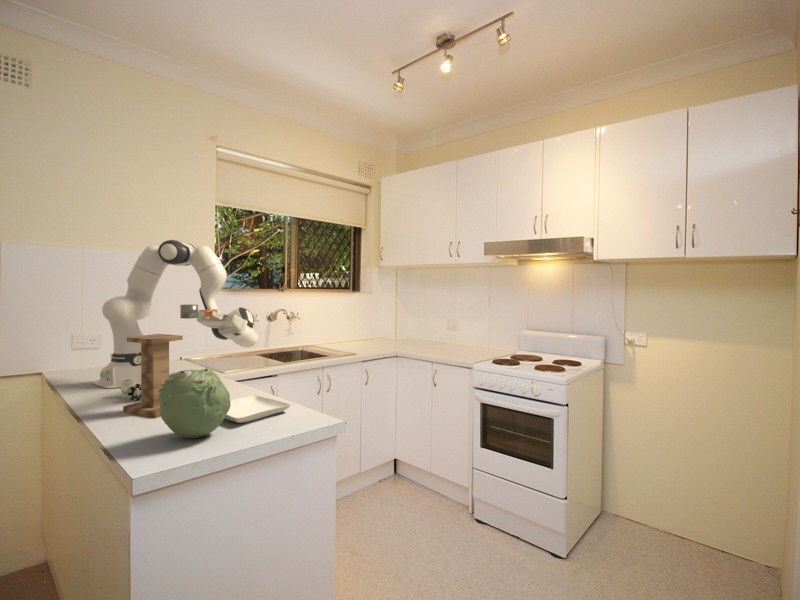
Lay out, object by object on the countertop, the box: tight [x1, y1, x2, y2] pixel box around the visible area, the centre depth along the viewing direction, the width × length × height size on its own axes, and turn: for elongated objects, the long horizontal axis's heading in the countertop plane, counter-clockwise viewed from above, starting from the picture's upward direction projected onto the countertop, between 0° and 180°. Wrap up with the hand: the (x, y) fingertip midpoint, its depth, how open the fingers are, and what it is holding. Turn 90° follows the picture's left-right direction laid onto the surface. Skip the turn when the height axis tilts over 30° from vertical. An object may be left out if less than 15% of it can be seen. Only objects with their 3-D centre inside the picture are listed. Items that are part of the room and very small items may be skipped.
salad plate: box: [224, 394, 292, 424], centre depth 141 cm, size 21×21×3 cm
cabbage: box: [158, 367, 231, 439], centre depth 118 cm, size 16×19×20 cm
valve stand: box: [122, 333, 184, 419], centre depth 143 cm, size 16×12×26 cm
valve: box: [120, 379, 141, 402], centre depth 158 cm, size 7×7×12 cm
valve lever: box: [179, 304, 219, 319], centre depth 160 cm, size 6×15×5 cm, turn 158°
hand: (206, 312), depth 163 cm, fingers closed on valve lever, 3 cm apart
